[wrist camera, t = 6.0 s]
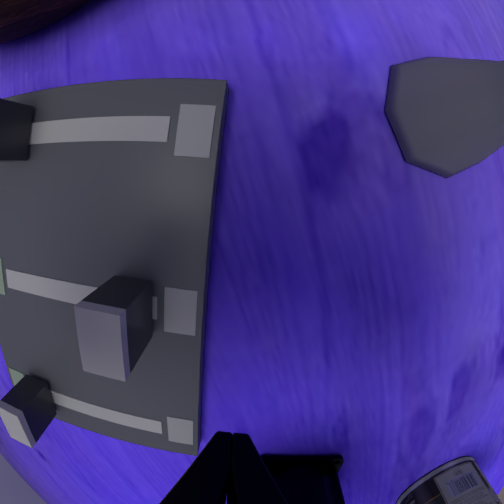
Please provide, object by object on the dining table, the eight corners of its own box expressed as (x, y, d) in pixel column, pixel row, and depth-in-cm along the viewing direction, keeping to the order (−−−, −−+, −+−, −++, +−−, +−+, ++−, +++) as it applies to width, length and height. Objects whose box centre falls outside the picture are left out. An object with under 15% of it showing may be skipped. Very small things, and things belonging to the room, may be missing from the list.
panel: (229, 89, 14) (226, 79, 12) (200, 441, 19) (197, 456, 17) (7, 104, 13) (-9, 101, 12) (27, 392, 18) (18, 403, 17)
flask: (390, 179, 15) (538, 190, 5) (371, 51, 13) (473, -45, 3) (485, 178, 14) (614, 193, 5) (469, 67, 13) (580, 26, 3)
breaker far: (47, 382, 16) (17, 416, 12) (56, 413, 16) (32, 448, 13) (26, 374, 16) (-5, 405, 12) (36, 405, 16) (11, 437, 12)
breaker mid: (152, 280, 14) (119, 315, 10) (152, 336, 15) (125, 381, 11) (114, 275, 14) (73, 306, 10) (117, 329, 15) (83, 370, 11)
